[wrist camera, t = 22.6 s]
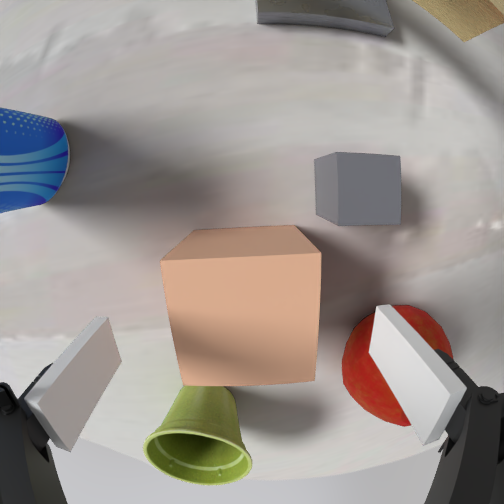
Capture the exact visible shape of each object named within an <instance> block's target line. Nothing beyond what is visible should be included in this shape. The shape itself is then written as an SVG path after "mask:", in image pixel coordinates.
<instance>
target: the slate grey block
mask: <svg viewBox="0 0 504 504" xmlns="http://www.w3.org/2000/svg"><path fill="white" fill-rule="evenodd" d="M314 164H315V190H316V215H318V216H320V217H322V218H324V219H326V220H328V221H330V222H332V223H334V224H336V225H338V226H352V225H396V224H401V163H400V156H394V155H382V154H367V153H347V152H335V153H332V154H329V155H326V156H323V157H320V158H317V159H314Z"/></svg>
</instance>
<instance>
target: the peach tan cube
mask: <svg viewBox="0 0 504 504" xmlns="http://www.w3.org/2000/svg"><path fill="white" fill-rule="evenodd" d="M160 265H161V272H162V279H163V285H164V292H165V298H166V304H167V310H168V315H169V321H170V326H171V331H172V336H173V341H174V346H175V351H176V355H177V360H178V364H179V369H180V373H181V377H182V381H183V385H187V386H253V385H273V384H287V383H298V382H308V381H315V370H316V359H317V345H318V331H319V313H320V289H321V252H320V251H319V250H318V249H317V248H316V247H315V246H314V245H313V244H312V243H311V242H310V241H309V240H308V239H307V238H306V237H305V236H304V235H303V234H302V233H301V232H300V231H299V230H298V229H297V227H296V226H295V225H284V226H262V227H242V228H223V229H206V230H194V231H193V232H191V233H190V234H189V235H188V236H187V237H186V238H185V239H183V240H182V241H181V242H180V243H179V244H178V245H177V246H176V247H175V248H173V249H172V250H171V251H170V252H169V253H168V254H167V255H166V256H165V257H163V258H162V259H161V260H160Z"/></svg>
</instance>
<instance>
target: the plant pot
mask: <svg viewBox="0 0 504 504" xmlns="http://www.w3.org/2000/svg"><path fill="white" fill-rule="evenodd" d="M143 451H144V454H145V456H146V458H147V460H148V461H149V462H150V463H151V464H152V465H153V466H154V467H155V468H157V469H158V470H160V471H161V472H163V473H165V474H166V475H169V476H170V477H173V478H175V479H178V480H181V481H185V482H189V483H194V484H200V485H223V484H227V483H232V482H235V481H238V480H240V479H242V478H243V477H245V476H246V475H247V474H248V473H249V472H250V470H251V468H252V459H251V456H250V454H249V453H248V451H247V450H246V448H245V445H244V444H243V442H242V438H241V433H240V428H239V422H238V416H237V409H236V403H235V400H234V397H233V395H232V394H231V392H230V391H229V390H228V389H226V388H225V387H223V386H187V385H185V386H184V387H183V388H182V389H181V390H180V392H179V394H178V396H177V398H176V400H175V401H174V403H173V405H172V407H171V409H170V411H169V412H168V414H167V416H166V418H165V419H164V421H163V423H162V425H161V426H160V427H158V428H157V429H156V430H155V432H154V433H152V434H151V435H149V436H148V437H147V438H146V440H145V442H144V444H143Z"/></svg>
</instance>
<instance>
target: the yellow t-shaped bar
mask: <svg viewBox="0 0 504 504" xmlns="http://www.w3.org/2000/svg"><path fill="white" fill-rule="evenodd" d="M412 1H414V2H415V3H417V4H418V5H420V6H421V7H422V8H424V9H425V10H426V11H428V12H429V13H430V14H432V15H433V16H434V17H435V18H437V19H438V20H439V21H440V22H442V23H443V24H444V25H445V26H446V27H448V28H449V29H450V30H451V31H452V32H453V33H454V34H456V35H457V36H458V37H459V38H460V39H461V40H462V41H463V42H466V41H468V40H470V39H472V38H474V37H476V36H478V35H480V34H482V33H484V32H486V31H488V30H490V29H492V28H494V27H496V26H498V25H500V24H503V23H504V0H412Z"/></svg>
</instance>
